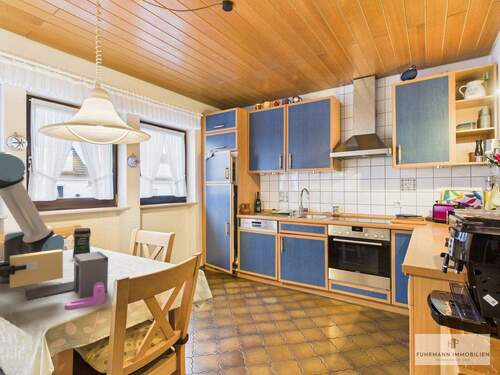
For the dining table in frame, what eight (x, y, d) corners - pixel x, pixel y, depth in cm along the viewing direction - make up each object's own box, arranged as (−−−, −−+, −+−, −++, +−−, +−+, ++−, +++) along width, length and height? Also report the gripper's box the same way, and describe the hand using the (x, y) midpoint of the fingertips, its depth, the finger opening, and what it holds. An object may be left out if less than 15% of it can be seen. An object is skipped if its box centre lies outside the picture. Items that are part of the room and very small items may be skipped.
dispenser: (72, 288, 119) (72, 254, 119) (98, 283, 126) (99, 251, 126) (78, 298, 109) (79, 261, 109) (107, 292, 116) (108, 257, 116)
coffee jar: (72, 258, 169) (72, 229, 169) (73, 255, 176) (74, 227, 176) (90, 257, 174) (90, 228, 174) (90, 254, 181) (91, 226, 181)
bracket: (103, 298, 110) (104, 281, 110) (104, 303, 105) (104, 285, 105) (65, 304, 103) (65, 286, 103) (64, 310, 98) (64, 291, 98)
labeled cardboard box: (9, 284, 101) (9, 255, 101) (61, 275, 112) (61, 249, 112) (9, 288, 98) (9, 258, 98) (62, 277, 109) (62, 251, 109)
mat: (25, 291, 115) (25, 290, 115) (74, 282, 127) (74, 280, 127) (27, 300, 106) (27, 298, 106) (80, 289, 118) (80, 287, 118)
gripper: (-50, 281, 95) (34, 267, 111) (-57, 296, 83) (39, 278, 99) (-50, 260, 95) (34, 249, 111) (-57, 272, 83) (39, 258, 99)
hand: (36, 263), depth 105 cm, fingers closed on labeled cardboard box, 4 cm apart
